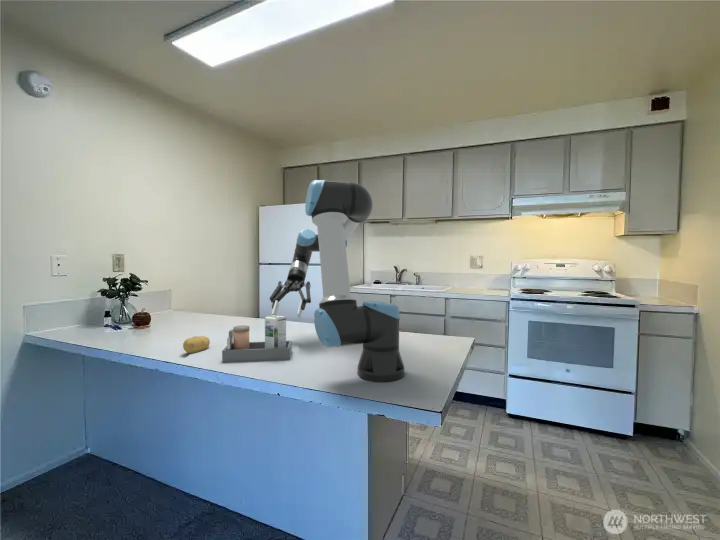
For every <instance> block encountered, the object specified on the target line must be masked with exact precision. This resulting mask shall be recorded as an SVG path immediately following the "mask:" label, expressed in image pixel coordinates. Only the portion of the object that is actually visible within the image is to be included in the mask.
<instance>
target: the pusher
mask: <svg viewBox="0 0 720 540" xmlns="http://www.w3.org/2000/svg"><path fill="white" fill-rule="evenodd" d="M226 346H227V350H234V331H233V329H230V330H229V331H228V337H227V338H226Z"/></svg>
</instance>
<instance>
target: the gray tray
mask: <svg viewBox="0 0 720 540" xmlns="http://www.w3.org/2000/svg"><path fill="white" fill-rule="evenodd" d="M249 343H250V349H241V350H227V345H226V346H225V347H224V348H223V349H222V350H221V355H222V356H221V357H222V358H221V359H222V361H221V362H222V363H236V362H237V363H238V362H259V361H260V362H261V361H263V362H265V361H283V360H284V361H287V360H289V361H290V360H291V355H292V351H293V346H292V343H293V341H292V340H286V348H268V349H265V341H249Z"/></svg>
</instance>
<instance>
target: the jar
mask: <svg viewBox="0 0 720 540" xmlns="http://www.w3.org/2000/svg"><path fill="white" fill-rule="evenodd" d="M232 330H233V331H234V350H241V349H250V343H249V342H250V325H236V326H233V328H232Z"/></svg>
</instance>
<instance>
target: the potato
mask: <svg viewBox="0 0 720 540" xmlns="http://www.w3.org/2000/svg"><path fill="white" fill-rule="evenodd" d="M210 342H211V341H210V338H209V337H208V336H205V335H200V336H198V335H197V336H192V337H189V338H187V339H185V340H184V342H183V344H182V347H183V350H184V351H185V352H186V353H188V354H195V353H198V352H202V351H203V350H206V349H208V348H209V346H210V344H211V343H210Z"/></svg>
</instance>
